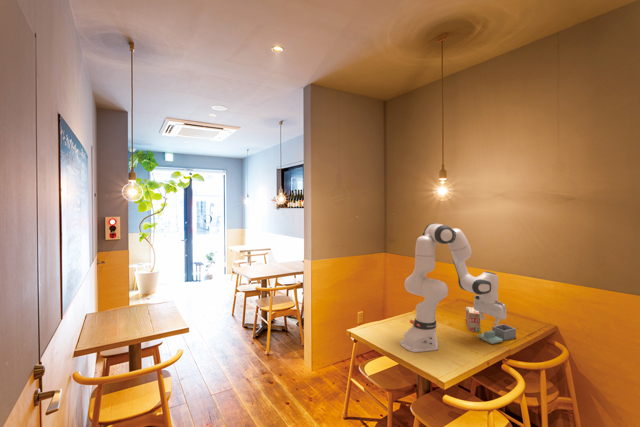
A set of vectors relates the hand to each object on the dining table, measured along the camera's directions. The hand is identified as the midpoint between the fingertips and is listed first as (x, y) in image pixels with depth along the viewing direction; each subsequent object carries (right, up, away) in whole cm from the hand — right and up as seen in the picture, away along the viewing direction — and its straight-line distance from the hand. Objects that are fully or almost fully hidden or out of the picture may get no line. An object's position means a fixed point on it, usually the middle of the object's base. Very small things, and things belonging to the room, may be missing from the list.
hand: (489, 322), depth 186 cm
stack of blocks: (+2, -11, +24) cm, 26 cm away
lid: (+1, -11, +1) cm, 11 cm away
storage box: (+12, -11, +5) cm, 17 cm away
